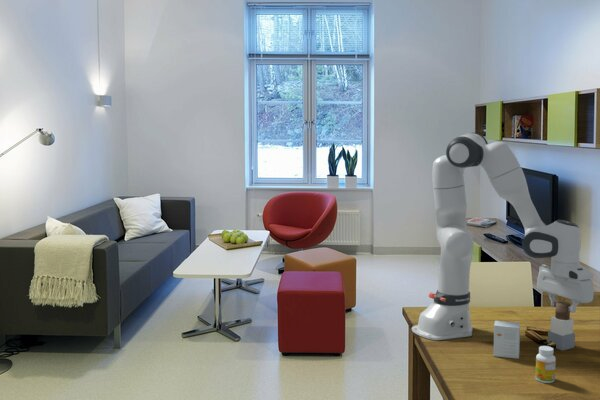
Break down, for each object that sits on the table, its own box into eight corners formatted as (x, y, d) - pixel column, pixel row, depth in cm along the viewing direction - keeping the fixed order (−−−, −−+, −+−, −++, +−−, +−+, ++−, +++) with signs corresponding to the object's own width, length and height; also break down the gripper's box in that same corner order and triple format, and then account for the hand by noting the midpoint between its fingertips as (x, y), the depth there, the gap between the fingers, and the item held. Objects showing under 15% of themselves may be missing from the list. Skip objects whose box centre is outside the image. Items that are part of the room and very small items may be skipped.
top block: (562, 335, 211) (563, 321, 210) (550, 331, 215) (550, 317, 214) (572, 333, 213) (573, 318, 212) (560, 328, 217) (561, 314, 217)
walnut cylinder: (563, 320, 211) (564, 306, 210) (552, 317, 214) (553, 302, 214) (572, 318, 213) (573, 304, 212) (561, 314, 217) (562, 300, 216)
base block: (562, 350, 211) (562, 336, 210) (547, 345, 216) (548, 331, 215) (574, 347, 214) (575, 333, 213) (559, 342, 219) (560, 328, 218)
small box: (519, 353, 209) (520, 322, 208) (519, 359, 204) (520, 327, 202) (493, 350, 211) (494, 319, 210) (493, 356, 206) (494, 325, 205)
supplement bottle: (532, 376, 190) (533, 345, 189) (549, 375, 191) (550, 344, 189) (540, 383, 185) (541, 351, 184) (558, 383, 185) (559, 351, 184)
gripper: (533, 263, 219) (531, 302, 221) (584, 276, 201) (582, 318, 203) (546, 261, 222) (544, 300, 224) (597, 274, 204) (595, 315, 206)
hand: (563, 309), depth 213 cm, fingers open, 6 cm apart
